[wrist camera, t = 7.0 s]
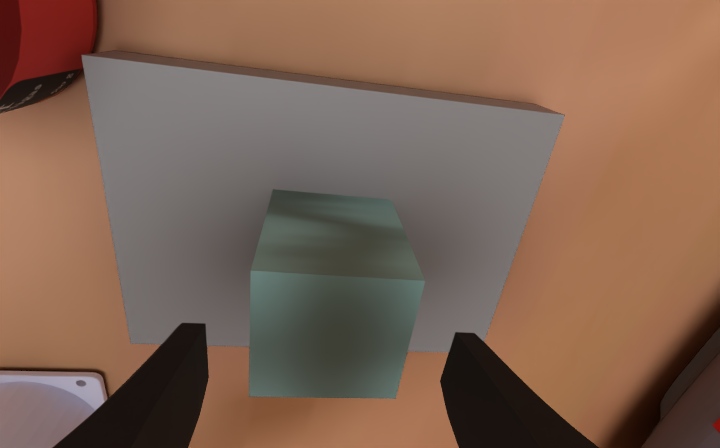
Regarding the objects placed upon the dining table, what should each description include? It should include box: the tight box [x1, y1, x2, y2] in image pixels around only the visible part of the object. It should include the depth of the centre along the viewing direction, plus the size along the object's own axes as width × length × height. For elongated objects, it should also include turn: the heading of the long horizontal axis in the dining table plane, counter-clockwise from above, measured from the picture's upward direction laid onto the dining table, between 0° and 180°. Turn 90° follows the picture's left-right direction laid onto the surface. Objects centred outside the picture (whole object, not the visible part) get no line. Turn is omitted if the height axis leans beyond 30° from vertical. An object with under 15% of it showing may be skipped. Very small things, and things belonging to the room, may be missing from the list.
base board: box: [81, 51, 565, 352], centre depth 18 cm, size 18×13×2 cm
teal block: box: [249, 189, 425, 399], centre depth 15 cm, size 5×5×6 cm
